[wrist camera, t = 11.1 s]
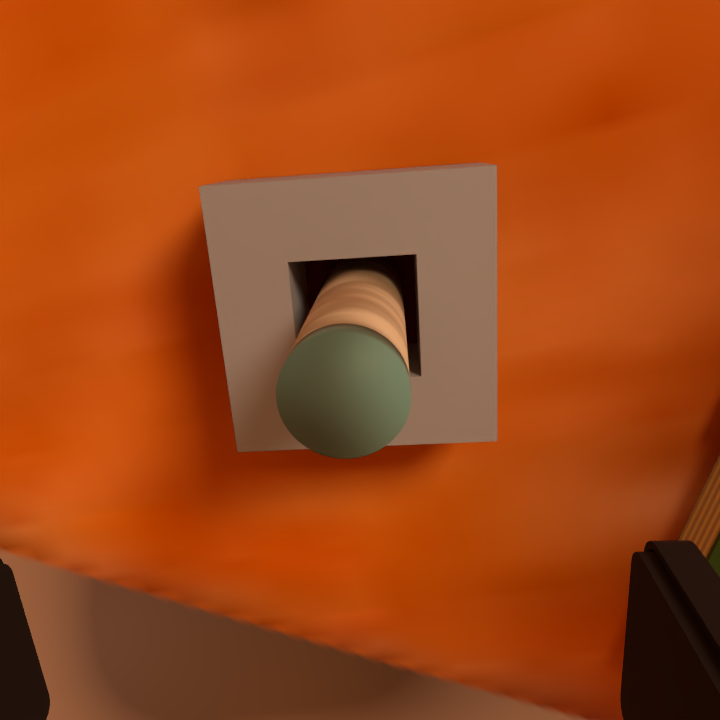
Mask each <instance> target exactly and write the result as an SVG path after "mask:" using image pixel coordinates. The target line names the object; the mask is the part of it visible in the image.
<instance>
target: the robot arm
mask: <svg viewBox="0 0 720 720" xmlns="http://www.w3.org/2000/svg"><path fill="white" fill-rule="evenodd" d="M49 706H50V698H49V693H48V690H47V686H46V683H45V680H44V676H43V673H42V669H41V666H40V663H39V660H38V656H37V653H36V649H35V646H34V643H33V639H32V636H31V633H30V629H29V626H28V622H27V619H26V616H25V612H24V609H23V605H22V602H21V599H20V595H19V592H18V589H17V585H16V582H15V579H14V575H13V572H12V570H11V568H10V567H9V566H8V565H6V564H3V562H2V560H1V559H0V720H46V719H47V716H48V712H49ZM621 709H622V715H623V719H624V720H720V577H719V576H718V574H717V573H716V572H715V570H714V569H713V567H712V566H711V565H710V563H709V562H708V561H707V559H706V558H705V556H704V555H703V554H702V552H701V551H700V550H699V548H698V547H697V546H696V545H695V544H694V542H692V541H689V540H675V541H649V542H647V543H646V545H645V548H644V552H635V553H634V554H633V556H632V561H631V573H630V586H629V598H628V610H627V622H626V635H625V647H624V659H623V671H622V684H621Z"/></svg>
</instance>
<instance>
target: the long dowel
mask: <svg viewBox="0 0 720 720" xmlns="http://www.w3.org/2000/svg"><path fill="white" fill-rule="evenodd" d="M276 402H277V407H278V411H279V414H280V417H281V419H282V421H283V423H284V425H285V426H286V428H287V429H288V431H289V432H290V433H291V434H292V436H293V437H294V438H295V439H296V440H298V441H299V442H300V443H301V444H302V445H304V446H305V447H307V448H308V449H310V450H312V451H314V452H316V453H319V454H321V455H324V456H328V457H333V458H343V459H349V458H358V457H362V456H366V455H369V454H372V453H374V452H376V451H378V450H380V449H382V448H383V447H385V446H386V445H388V444H389V443H390V442H391V441H392V440H393V439H394V438H395V437H396V436H397V435H398V434H399V432H400V431H401V429H402V428H403V426H404V424H405V422H406V420H407V418H408V414H409V411H410V406H411V387H410V374H409V362H408V350H407V338H406V326H405V314H404V302H403V290H402V284H401V281H400V278H399V276H398V275H397V273H396V271H395V270H394V269H393V268H392V267H391V266H390V265H389V264H388V263H387V262H386V261H384V260H382V259H380V258H378V257H362V258H346V259H344V260H342V261H340V262H339V263H338V264H336V265H335V266H334V267H333V269H332V270H331V271H330V273H329V275H328V276H327V278H326V280H325V282H324V284H323V286H322V288H321V290H320V292H319V294H318V296H317V298H316V300H315V302H314V304H313V306H312V308H311V310H310V312H309V315H308V317H307V319H306V321H305V323H304V325H303V327H302V329H301V331H300V333H299V335H298V337H297V339H296V341H295V343H294V345H293V347H292V349H291V351H290V353H289V355H288V357H287V359H286V361H285V363H284V365H283V367H282V369H281V371H280V374H279V376H278V381H277V386H276Z"/></svg>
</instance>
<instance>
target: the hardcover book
mask: <svg viewBox="0 0 720 720" xmlns="http://www.w3.org/2000/svg"><path fill="white" fill-rule="evenodd" d="M678 540H689V541H692V542H694V544H695V545H696V546H697V547H698V548H699V550H700V551H701V552H702V554H703V555H704V556H705V558H706V559H707V561H708V562H709V563H710V565H711V566H712V567H713V569H714V570H715V572H716V573H717V574H718V576H719V577H720V455H719V457H718V459H717V461H716V463H715V465H714V467H713V469H712V471H711V473H710V475H709V477H708V479H707V481H706V483H705V486H704V488H703V490H702V492H701V494H700V496H699V498H698V500H697V502H696V504H695V506H694V508H693V510H692V512H691V514H690V516H689V518H688V521H687V523H686V525H685V527H684V529H683V531H682V533H681V535H680V537H679V539H678Z"/></svg>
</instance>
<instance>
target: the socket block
mask: <svg viewBox="0 0 720 720" xmlns="http://www.w3.org/2000/svg"><path fill="white" fill-rule="evenodd" d="M199 191H200V198H201V205H202V212H203V219H204V226H205V233H206V240H207V246H208V253H209V260H210V267H211V274H212V281H213V288H214V295H215V302H216V308H217V315H218V322H219V329H220V336H221V343H222V350H223V357H224V363H225V370H226V377H227V384H228V391H229V398H230V405H231V412H232V419H233V425H234V432H235V439H236V446H237V452H252V451H275V450H299V449H308V448H307V447H305V446H304V445H302V444H301V443H300V442H299V441H298V440H296V439H295V438H294V437H293V436H292V434H291V433H290V432H289V431H288V429H287V428H286V426H285V425H284V423H283V421H282V419H281V417H280V414H279V411H278V407H277V402H276V386H277V381H278V376H279V374H280V371H281V369H282V367H283V365H284V363H285V361H286V359H287V357H288V355H289V353H290V351H291V349H292V347H293V345H294V343H295V341H296V339H297V337H298V335H299V333H300V331H301V329H302V327H303V325H304V323H305V321H306V319H307V317H308V315H309V312H310V309H309V299H308V288H307V278H306V268H305V261H314V260H330V259H346V258H362V257H378V256H394V255H410V254H413V260H414V283H415V306H416V329H417V343H414V344H407V350H408V362H409V374H410V387H411V406H410V411H409V414H408V418H407V420H406V422H405V424H404V426H403V428H402V429H401V431H400V432H399V434H398V435H397V436H396V437H395V438H394V439H393V440H392V441H391V442H390V443H389V444H388V445H386V446H393V445H417V444H440V443H464V442H487V441H497V165H492V164H486V163H467V164H453V165H439V166H425V167H411V168H397V169H383V170H369V171H355V172H341V173H327V174H313V175H299V176H285V177H271V178H257V179H243V180H229V181H224V182H219V183H214V184H209V185H203V186H199Z"/></svg>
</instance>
